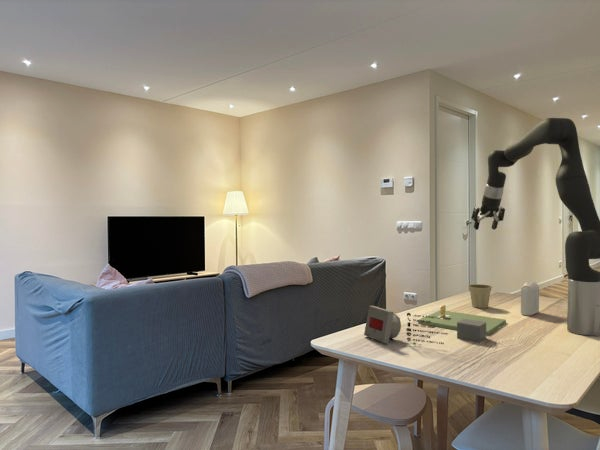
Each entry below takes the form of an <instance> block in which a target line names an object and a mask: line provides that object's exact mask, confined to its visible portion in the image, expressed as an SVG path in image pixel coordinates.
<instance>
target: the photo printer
mask: <svg viewBox="0 0 600 450" xmlns="http://www.w3.org/2000/svg"><path fill="white" fill-rule="evenodd" d="M520 289H521V290H520V314H521V315H522V316H527V317H529V316H533V315H536V314H538V313H539V312H540V286H539V284H538V283H537V282H536V281H527V282H525V283H524V284H523V285H522V286H521V288H520Z"/></svg>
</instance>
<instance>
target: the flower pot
mask: <svg viewBox="0 0 600 450" xmlns="http://www.w3.org/2000/svg"><path fill="white" fill-rule="evenodd" d="M467 287H468V290H469V293H470V300H471V306H472V307H473V308H479V309H487V308H489V304H490V296H491V291H492V288H493V286H492V285H488V284H480V283H479V284H477V283H476V284H468V285H467Z"/></svg>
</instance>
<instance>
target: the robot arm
mask: <svg viewBox="0 0 600 450" xmlns="http://www.w3.org/2000/svg"><path fill="white" fill-rule="evenodd" d="M545 144H546V145H558V147H559V150H560V154H561V155H560V156H561V162H560V165H559V167H558V169H557V172H556V174H555V185H556V190H557V193H558V197H559V199H560V201H561V202H562V203H563V205H564V206H565V207H566V208H567V209H568V210H569V212H571V213H572V215H573V216H574V217H575V219H576V221H577V222H578V224H579V226H580V230H581V231H579V230H578V231H573V232H570V233H569V234H568V235H567V237H566V239H565V243H564V255H565V259H564V260H565V270H566V273H567V315H566V316H567V318H566V319H567V320H566V321H567V323H566V325H567V327H566V329H567V331H568V332H571V333H573V334H577V335H583V336H597V337H599V336H600V271H598V270H595V269H594V268H592V267H591V265H590V260H599V259H600V217H599V215H598V212H597V210H596V206H595V203H594V199H593V197H592V192H591V187H590V184H589V180H588V177H587V174H586V171H585V167H584V164H583V163H584V162H583V159H582V155H581V150H580V144H579V135H578V130H577V126H576V124H575V122H574V121H573V120H572V119H571V118H569V117H568V118H567V117H546V118H545V119H543V120H542V121H541V122H539V123H537V125H535V126H534V127H532V129H531V130H530V131H528V132H527V133H526V134H525V135H524V136H523V137H522V138H519V139H518V140H516V141H514V142H512V143H511V144H509V145H507V146H506V147H505V148H504V150H502V149H501V150H500V149H499V150H497V149H495V150H492V151H491V152H490V153H489V155H488V156H487V167H488V171H487V172H488V176H487V180H486V185H485V188H484V191H483V195H482V196H483V197H482V201H481V206H480V207H477V206H474V208H473V211H472V214H471V220H472V221H474V223H473V228H474V230H476V231H478V230H479V228H480V224H481V222H482V220H484V219H486V218H492V219H493V221H492V224H491V229H492V230H493V231H494V230H496V229H497V227H498V225H499V222H503V221H504V218H505V217H504V216H505V211H506V208H504V207H503V206H501V202H502V198H503V194H504V187H505V183H506V179H507V174H506V173H505V172H503V171H499V168H510V167H513V166H514V165H515V164H516V163H517V162H518V161H519V160H521V159H523V158H525V157H526V156H529V155H530V154H531V153H532V152H533V149H534V147H536V146H539V145H545ZM497 213H498V214H497Z"/></svg>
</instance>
